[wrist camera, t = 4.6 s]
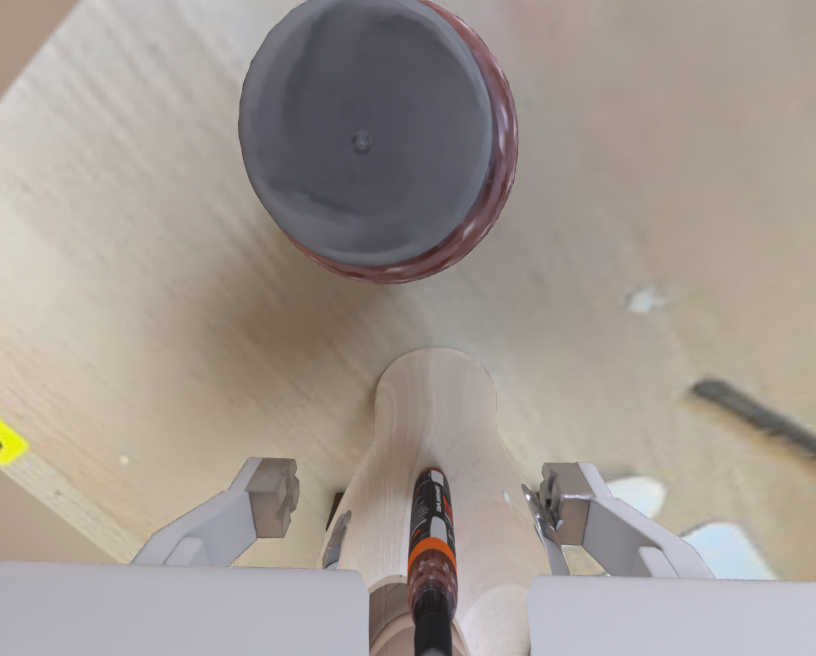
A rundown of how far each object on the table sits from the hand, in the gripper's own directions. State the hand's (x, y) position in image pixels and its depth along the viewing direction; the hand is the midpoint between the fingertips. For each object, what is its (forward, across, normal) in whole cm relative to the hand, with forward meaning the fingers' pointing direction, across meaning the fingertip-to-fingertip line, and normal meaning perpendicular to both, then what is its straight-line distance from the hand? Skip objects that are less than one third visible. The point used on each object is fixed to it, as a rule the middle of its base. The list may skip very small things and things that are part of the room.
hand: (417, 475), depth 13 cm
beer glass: (+7, -1, +1) cm, 7 cm away
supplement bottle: (+7, +1, -10) cm, 12 cm away
